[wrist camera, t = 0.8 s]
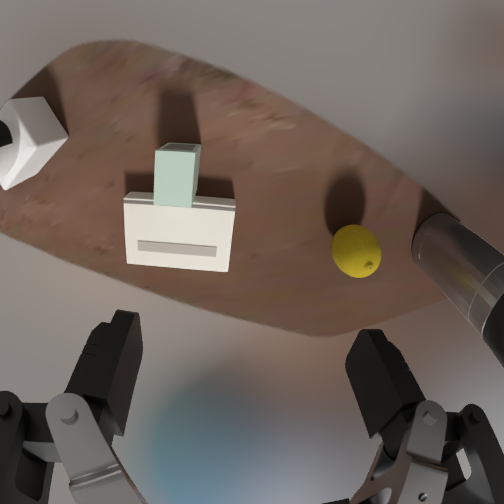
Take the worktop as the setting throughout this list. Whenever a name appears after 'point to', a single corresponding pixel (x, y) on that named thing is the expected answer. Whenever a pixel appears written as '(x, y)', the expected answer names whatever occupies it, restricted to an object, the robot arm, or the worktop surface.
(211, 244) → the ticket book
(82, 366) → the robot arm
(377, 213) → the worktop surface
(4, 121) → the medicine bottle
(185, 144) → the pale green block
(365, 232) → the lemon
